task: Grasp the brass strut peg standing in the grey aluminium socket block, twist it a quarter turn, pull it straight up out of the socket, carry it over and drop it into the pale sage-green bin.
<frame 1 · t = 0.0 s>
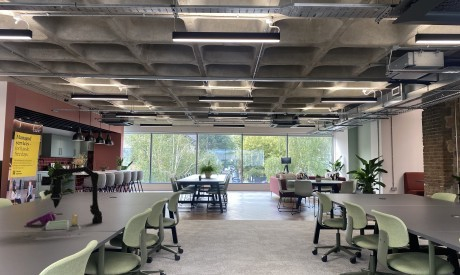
hand: (56, 207, 233), 15 cm above the table, fingers open, 9 cm apart
socket block: (74, 230, 223), on the table
bin: (57, 229, 225), on the table
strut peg: (74, 228, 223), point 1 cm above the table, touching socket block
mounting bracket: (40, 225, 241), on the table
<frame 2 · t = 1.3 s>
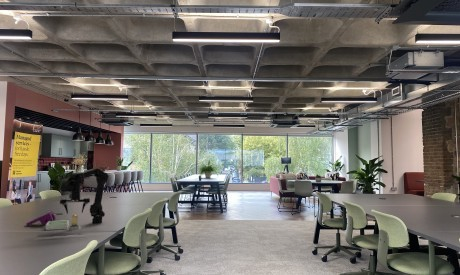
hand: (74, 213, 224), 12 cm above the table, fingers open, 9 cm apart
nothing on the table moved.
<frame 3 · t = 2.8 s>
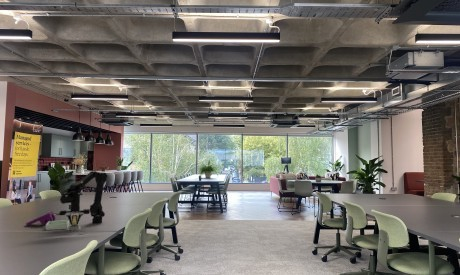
hand: (74, 224, 223), 4 cm above the table, fingers closed on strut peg, 4 cm apart
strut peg: (74, 228, 223), point 1 cm above the table, touching gripper, socket block
everything else where it was.
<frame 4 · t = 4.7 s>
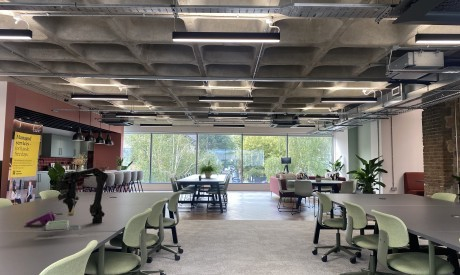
hand: (70, 212, 224), 13 cm above the table, fingers closed on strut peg, 4 cm apart
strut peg: (70, 215, 224), point 10 cm above the table, touching gripper
everything else where it was.
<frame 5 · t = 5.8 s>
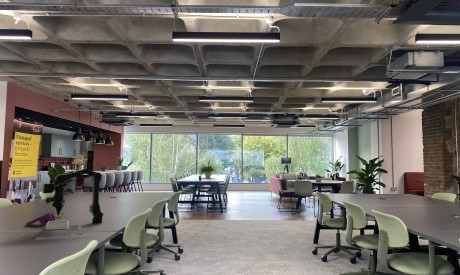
hand: (58, 214, 226), 10 cm above the table, fingers closed on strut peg, 4 cm apart
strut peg: (58, 218, 226), point 8 cm above the table, touching gripper
everything else where it was.
when the fingers open (6 cm above the table, at t = 6.7 s): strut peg drops 3 cm, resting on bin.
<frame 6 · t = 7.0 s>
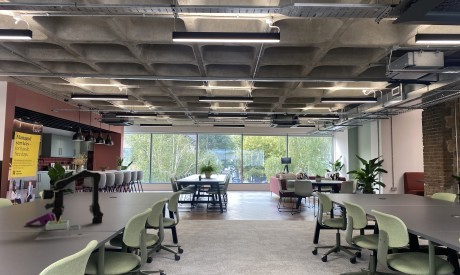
hand: (58, 220, 226), 6 cm above the table, fingers open, 6 cm apart
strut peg: (57, 228, 225), point 1 cm above the table, touching bin
everything else where it was.
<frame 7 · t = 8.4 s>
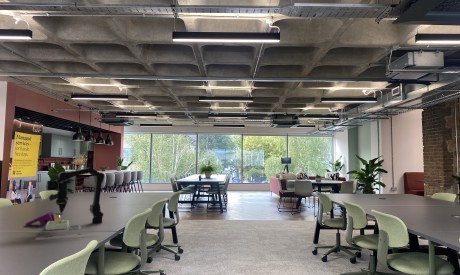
hand: (62, 211, 228), 12 cm above the table, fingers open, 9 cm apart
nothing on the table moved.
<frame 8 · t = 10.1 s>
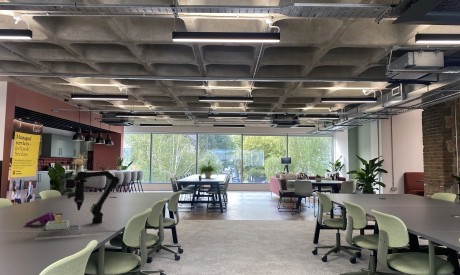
hand: (79, 209, 236), 13 cm above the table, fingers open, 9 cm apart
nothing on the table moved.
at the end: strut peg inside the target area on the bin (0.1 cm from its centre), point 0.7 cm above the bin's base; the gripper is holding nothing; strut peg inside the target area on the table beside the socket block (13.8 cm from its centre), point 0.7 cm above the table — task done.
